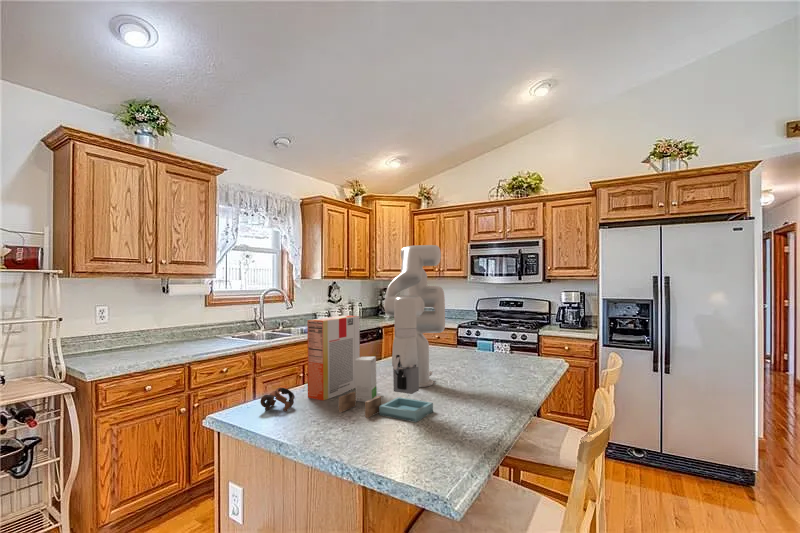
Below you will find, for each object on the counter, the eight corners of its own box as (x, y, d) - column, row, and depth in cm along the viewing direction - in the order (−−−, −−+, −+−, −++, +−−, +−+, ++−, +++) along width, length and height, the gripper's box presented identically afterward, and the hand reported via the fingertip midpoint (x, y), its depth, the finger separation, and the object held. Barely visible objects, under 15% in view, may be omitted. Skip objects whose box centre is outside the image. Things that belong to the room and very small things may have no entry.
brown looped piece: (278, 404, 150) (289, 385, 150) (290, 421, 144) (301, 401, 144) (250, 404, 141) (262, 383, 141) (262, 421, 135) (274, 400, 135)
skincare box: (371, 402, 149) (371, 360, 150) (354, 401, 151) (354, 359, 151) (377, 396, 158) (376, 356, 158) (360, 395, 159) (360, 355, 160)
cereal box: (345, 384, 177) (344, 315, 178) (359, 386, 172) (359, 316, 174) (307, 397, 157) (307, 320, 158) (323, 400, 153) (323, 320, 154)
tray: (398, 405, 146) (398, 397, 146) (433, 411, 138) (432, 402, 138) (379, 415, 135) (379, 406, 135) (416, 422, 128) (415, 412, 128)
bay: (353, 405, 146) (353, 391, 146) (381, 410, 140) (381, 396, 140) (338, 411, 139) (338, 397, 139) (368, 417, 133) (367, 402, 133)
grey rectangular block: (401, 388, 141) (400, 362, 141) (418, 390, 137) (418, 363, 138) (393, 391, 137) (393, 364, 137) (411, 394, 133) (411, 366, 133)
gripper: (408, 330, 147) (409, 380, 146) (382, 335, 132) (383, 391, 132) (426, 331, 143) (427, 383, 142) (402, 336, 129) (402, 394, 128)
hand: (406, 386), depth 137 cm, fingers closed on grey rectangular block, 5 cm apart
